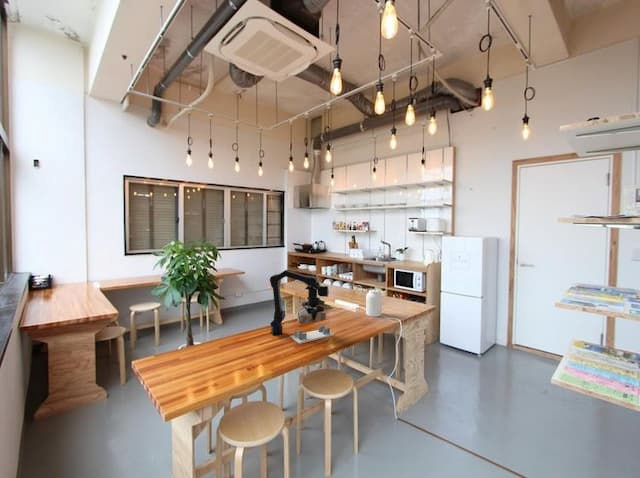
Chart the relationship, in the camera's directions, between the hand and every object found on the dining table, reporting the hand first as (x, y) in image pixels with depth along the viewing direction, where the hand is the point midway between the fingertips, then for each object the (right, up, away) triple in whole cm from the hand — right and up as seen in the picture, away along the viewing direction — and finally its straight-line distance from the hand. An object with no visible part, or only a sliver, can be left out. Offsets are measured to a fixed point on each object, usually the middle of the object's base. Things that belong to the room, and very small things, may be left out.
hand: (312, 319), depth 198 cm
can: (+49, -9, +48) cm, 69 cm away
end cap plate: (0, -11, 0) cm, 11 cm away
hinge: (-5, -10, +34) cm, 36 cm away
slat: (0, -1, 0) cm, 1 cm away
